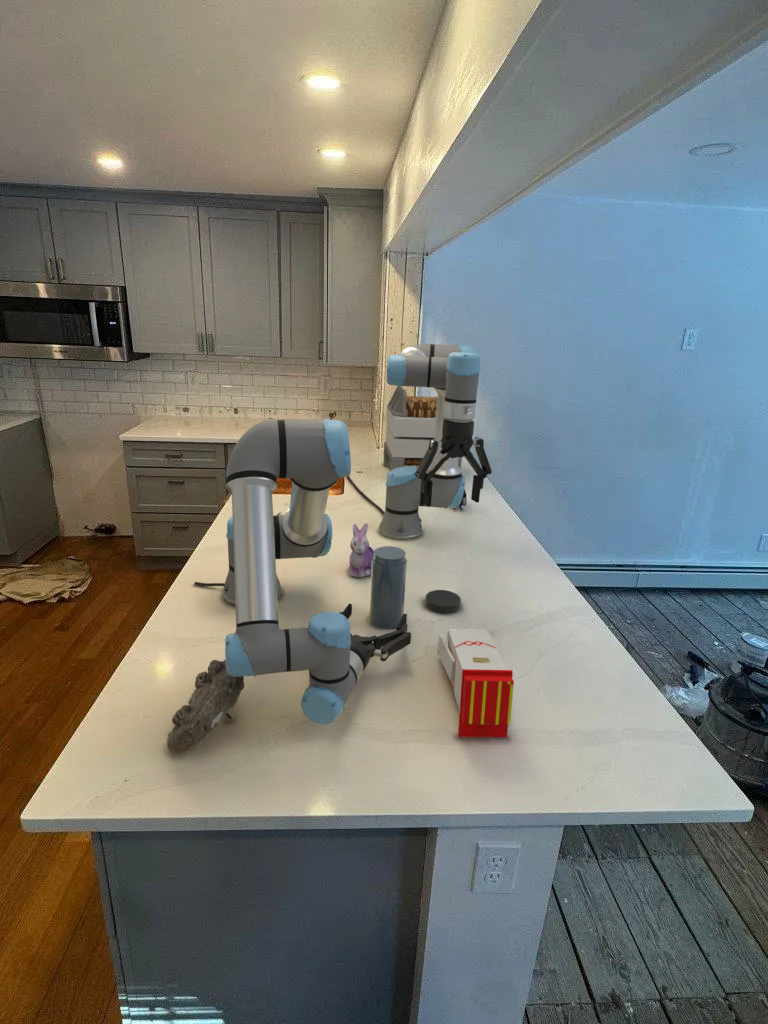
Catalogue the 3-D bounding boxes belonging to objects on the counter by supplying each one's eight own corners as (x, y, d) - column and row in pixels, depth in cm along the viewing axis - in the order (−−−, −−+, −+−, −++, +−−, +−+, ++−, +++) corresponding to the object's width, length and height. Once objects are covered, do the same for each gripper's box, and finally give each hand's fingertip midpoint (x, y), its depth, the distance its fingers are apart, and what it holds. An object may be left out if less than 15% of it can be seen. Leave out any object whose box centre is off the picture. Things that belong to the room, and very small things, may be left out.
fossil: (192, 660, 117) (244, 628, 112) (224, 691, 120) (276, 661, 115) (142, 746, 98) (202, 712, 93) (182, 779, 101) (242, 748, 96)
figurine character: (467, 515, 225) (461, 499, 238) (469, 498, 221) (463, 482, 235) (450, 514, 224) (445, 498, 238) (452, 497, 221) (447, 482, 234)
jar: (362, 619, 144) (364, 551, 138) (386, 608, 150) (389, 542, 144) (386, 633, 139) (389, 563, 132) (410, 621, 144) (414, 553, 138)
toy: (488, 613, 130) (523, 677, 101) (484, 667, 133) (517, 744, 104) (435, 612, 130) (455, 676, 101) (432, 666, 133) (451, 743, 103)
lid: (461, 615, 148) (462, 607, 148) (425, 612, 149) (426, 605, 148) (458, 597, 157) (459, 590, 156) (424, 595, 158) (425, 588, 157)
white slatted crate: (382, 463, 289) (386, 382, 275) (445, 464, 293) (451, 384, 279) (390, 482, 257) (394, 392, 243) (460, 483, 261) (468, 394, 247)
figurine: (354, 581, 164) (356, 533, 159) (340, 567, 172) (341, 520, 167) (383, 575, 168) (386, 528, 163) (368, 562, 176) (370, 516, 171)
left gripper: (291, 666, 120) (328, 618, 139) (405, 691, 114) (427, 637, 133) (290, 635, 117) (328, 590, 137) (407, 659, 111) (429, 609, 130)
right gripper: (418, 424, 128) (412, 512, 136) (511, 420, 137) (501, 503, 144) (404, 417, 135) (400, 502, 142) (495, 415, 144) (486, 494, 151)
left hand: (377, 613), depth 135 cm, fingers open, 13 cm apart
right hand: (451, 503), depth 143 cm, fingers open, 13 cm apart
